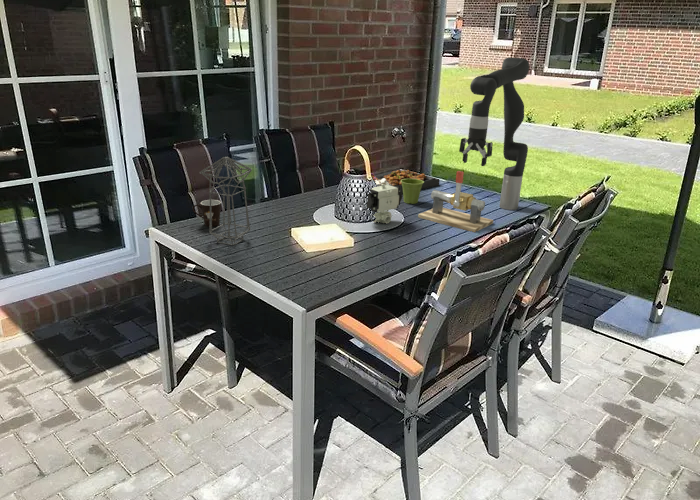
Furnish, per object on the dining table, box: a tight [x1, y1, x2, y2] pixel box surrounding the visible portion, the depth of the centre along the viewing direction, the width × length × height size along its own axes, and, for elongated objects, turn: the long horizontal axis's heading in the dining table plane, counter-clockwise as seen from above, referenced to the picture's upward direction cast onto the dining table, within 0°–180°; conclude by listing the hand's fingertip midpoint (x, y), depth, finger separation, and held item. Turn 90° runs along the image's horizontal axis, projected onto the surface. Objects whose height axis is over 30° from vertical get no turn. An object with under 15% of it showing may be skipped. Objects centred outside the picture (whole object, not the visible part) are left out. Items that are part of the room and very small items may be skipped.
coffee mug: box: [192, 199, 222, 228], centre depth 241 cm, size 12×9×10 cm
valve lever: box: [452, 170, 465, 207], centre depth 247 cm, size 2×3×16 cm, turn 50°
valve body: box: [430, 189, 486, 224], centre depth 256 cm, size 8×26×12 cm, turn 50°
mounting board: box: [417, 207, 494, 233], centre depth 259 cm, size 18×30×2 cm, turn 50°
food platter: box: [370, 169, 440, 194], centre depth 313 cm, size 45×25×10 cm, turn 130°
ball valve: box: [367, 184, 403, 224], centre depth 250 cm, size 18×8×18 cm, turn 127°
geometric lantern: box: [199, 156, 253, 246], centre depth 217 cm, size 16×16×35 cm
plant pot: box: [401, 179, 424, 205], centre depth 283 cm, size 12×12×11 cm
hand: (473, 164), depth 239 cm, fingers open, 8 cm apart
